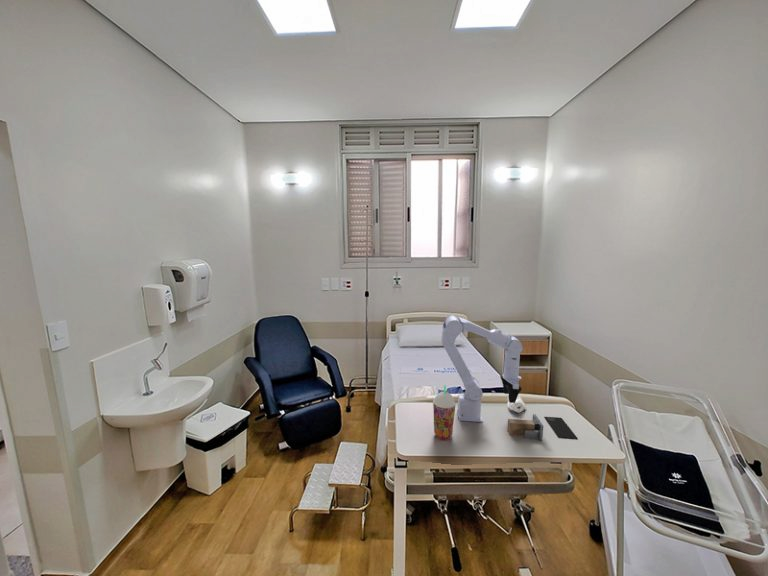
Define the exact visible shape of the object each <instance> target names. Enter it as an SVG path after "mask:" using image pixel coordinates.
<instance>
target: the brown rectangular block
mask: <svg viewBox="0 0 768 576" xmlns="http://www.w3.org/2000/svg"><path fill="white" fill-rule="evenodd" d="M532 420H533V419H532ZM532 420H531V419H518V418H507V426H506V427H507V428H506V429H507V430H506V432H507V434H508V435H509V436H518V437H519V436H520V437H524V430H534V428H535V424H534V423H533V421H532Z"/></svg>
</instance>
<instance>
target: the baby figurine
mask: <svg viewBox="0 0 768 576" xmlns="http://www.w3.org/2000/svg"><path fill="white" fill-rule="evenodd" d="M506 397H507V407H508V408H507V409H509V410H510V411H513V412H515V413H518V414H519V413H521V412H523V411H524V410H525V409H526V403H525V402H524V401H523V399H522V397H521V395H520V393H519V394H518V396H517V399H516V402H515V403H510V402H509V395H508V394H506Z"/></svg>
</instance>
